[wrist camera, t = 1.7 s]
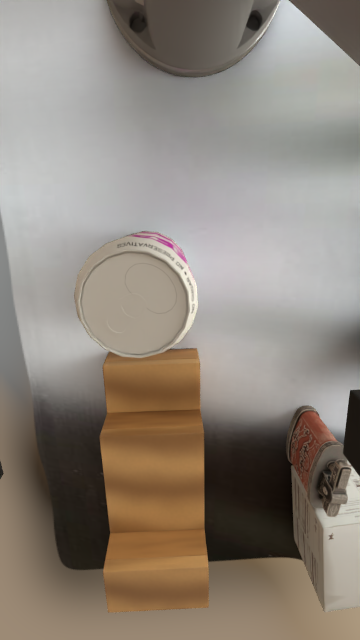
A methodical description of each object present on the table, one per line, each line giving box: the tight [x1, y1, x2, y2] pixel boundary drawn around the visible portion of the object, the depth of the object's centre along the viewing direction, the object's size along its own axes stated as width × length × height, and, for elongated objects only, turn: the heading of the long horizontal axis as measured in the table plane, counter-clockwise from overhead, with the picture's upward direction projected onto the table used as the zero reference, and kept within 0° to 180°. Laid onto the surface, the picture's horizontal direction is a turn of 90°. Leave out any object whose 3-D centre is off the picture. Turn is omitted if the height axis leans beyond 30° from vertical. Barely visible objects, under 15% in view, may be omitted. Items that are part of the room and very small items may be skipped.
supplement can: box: [74, 231, 198, 358], centre depth 28 cm, size 8×8×15 cm
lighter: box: [286, 406, 352, 517], centre depth 36 cm, size 8×3×10 cm, turn 174°
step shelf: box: [100, 349, 209, 612], centre depth 35 cm, size 23×10×12 cm, turn 1°
